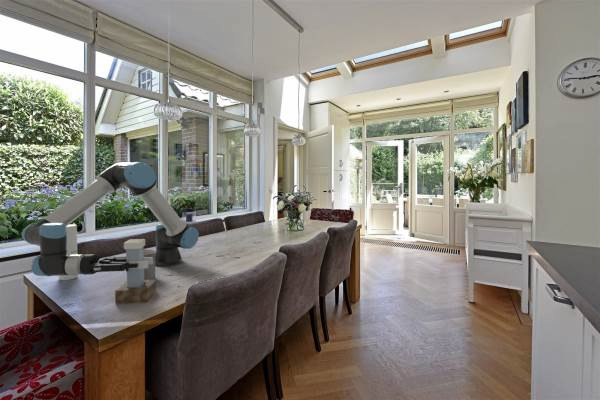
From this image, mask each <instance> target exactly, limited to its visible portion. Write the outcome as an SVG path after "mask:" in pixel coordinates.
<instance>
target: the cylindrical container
mask: <svg viewBox="0 0 600 400" xmlns="http://www.w3.org/2000/svg"><path fill="white" fill-rule="evenodd" d="M66 231H67V255H78V226H77V224H72V223H70V224H69V225H68V226H66ZM78 277H79V275H77V276H74V275H59V276H58V280H60V281H68V280H73V279H76V278H78Z"/></svg>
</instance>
